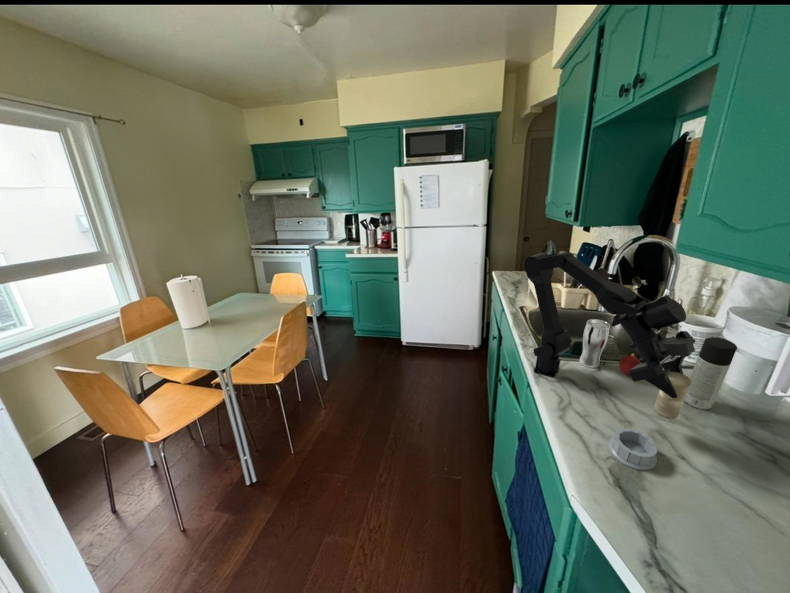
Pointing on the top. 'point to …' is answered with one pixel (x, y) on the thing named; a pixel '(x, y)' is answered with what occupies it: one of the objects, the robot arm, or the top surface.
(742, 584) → the top surface
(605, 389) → the top surface
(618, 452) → the round socket
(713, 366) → the spray can
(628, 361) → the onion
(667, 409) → the birch plug
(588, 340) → the beer glass
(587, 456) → the top surface
